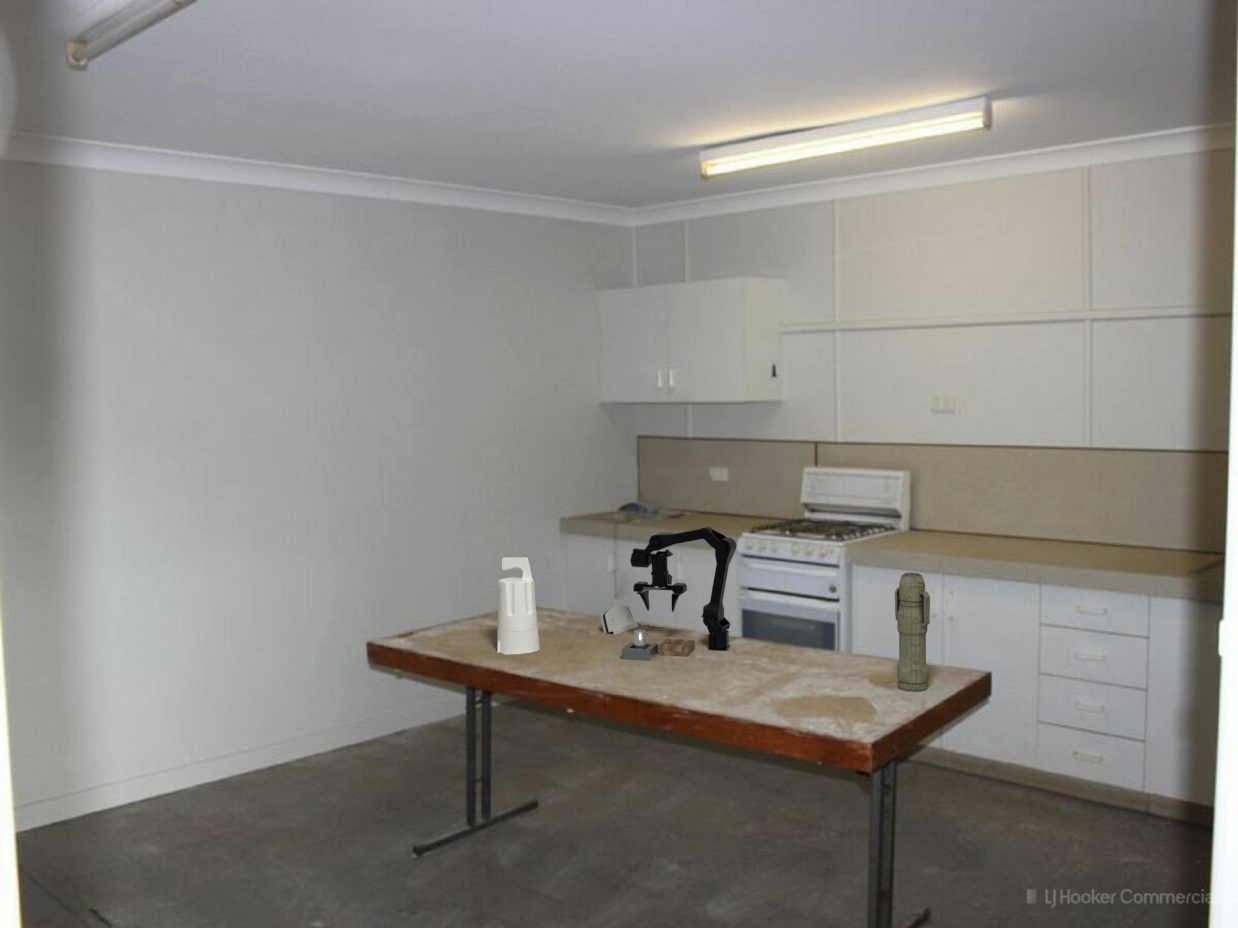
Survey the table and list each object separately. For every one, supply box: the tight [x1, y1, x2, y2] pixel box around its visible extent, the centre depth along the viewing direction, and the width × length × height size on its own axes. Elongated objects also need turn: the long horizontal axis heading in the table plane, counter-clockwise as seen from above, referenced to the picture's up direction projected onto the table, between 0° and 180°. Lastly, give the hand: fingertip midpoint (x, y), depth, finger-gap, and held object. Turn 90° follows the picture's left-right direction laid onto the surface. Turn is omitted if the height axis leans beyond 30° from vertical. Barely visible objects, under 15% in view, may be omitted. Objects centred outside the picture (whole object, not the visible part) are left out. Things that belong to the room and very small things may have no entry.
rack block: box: [621, 641, 659, 662], centre depth 388 cm, size 10×10×4 cm
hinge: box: [600, 605, 639, 636], centre depth 430 cm, size 17×5×10 cm, turn 145°
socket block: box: [658, 638, 696, 658], centre depth 392 cm, size 10×10×4 cm
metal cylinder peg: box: [633, 628, 647, 649], centre depth 388 cm, size 4×4×9 cm
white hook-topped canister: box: [496, 556, 541, 656], centre depth 402 cm, size 15×15×33 cm
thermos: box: [894, 572, 931, 693], centre depth 340 cm, size 9×12×35 cm
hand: (660, 610), depth 404 cm, fingers open, 9 cm apart
